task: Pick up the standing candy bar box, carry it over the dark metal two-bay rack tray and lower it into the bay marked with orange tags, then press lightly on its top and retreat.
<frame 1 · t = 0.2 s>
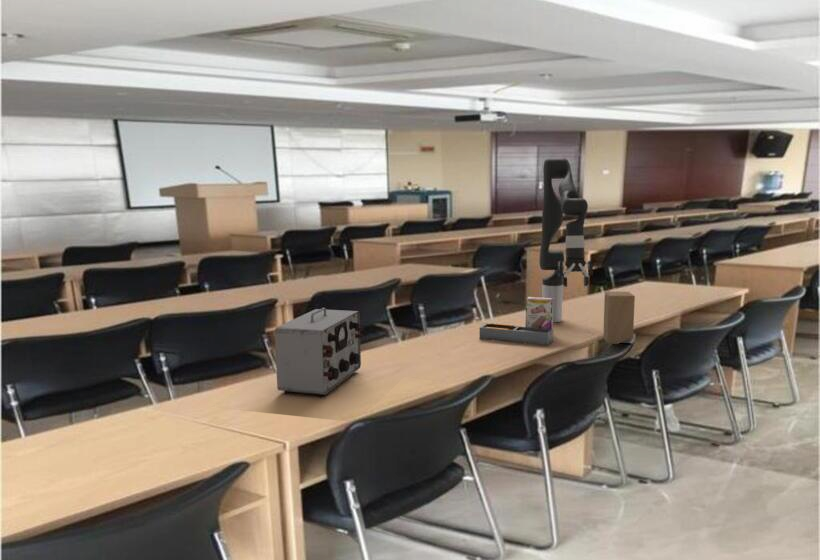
hand: (575, 286, 274), 22 cm above the table, tool pointing down, fingers open, 8 cm apart
wooden block: (617, 341, 274), on the table
candy bar box: (539, 336, 284), on the table
rack: (515, 340, 278), on the table
vintage electronic device: (324, 383, 225), on the table
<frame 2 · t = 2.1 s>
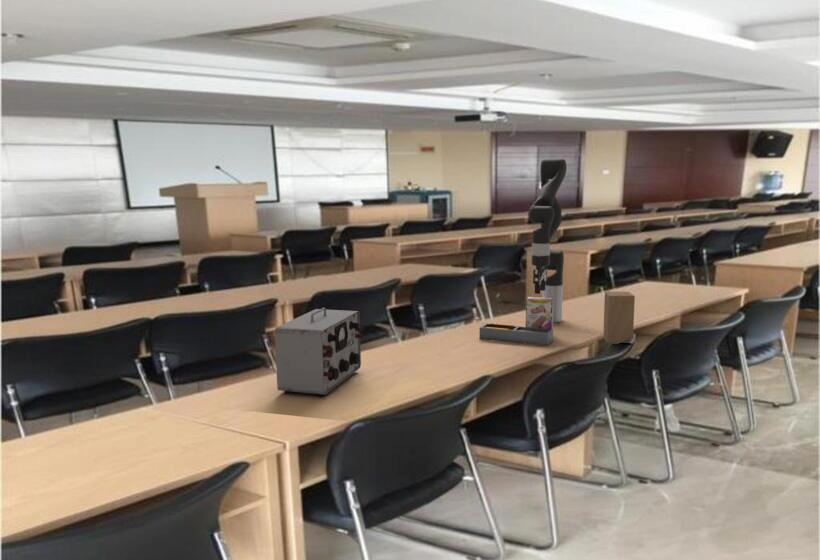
hand: (540, 292, 281), 19 cm above the table, tool pointing down, fingers open, 8 cm apart
nothing on the table moved.
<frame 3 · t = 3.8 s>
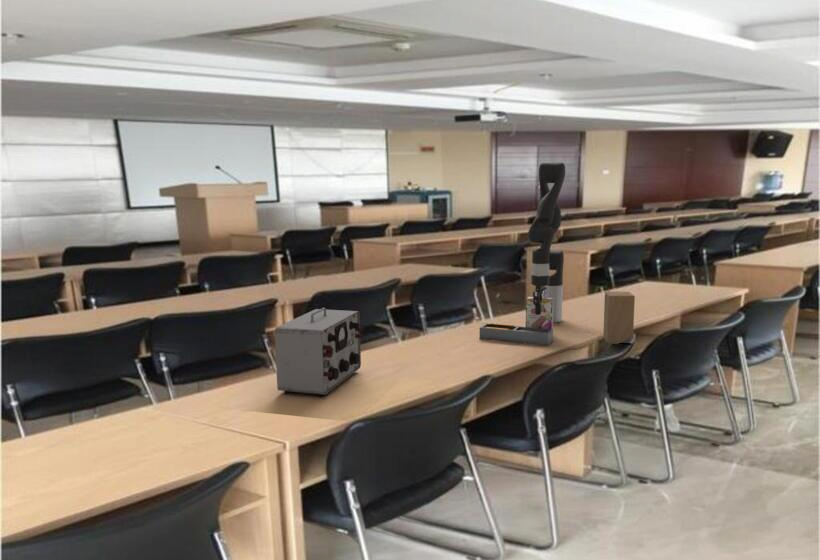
hand: (539, 312, 283), 10 cm above the table, tool pointing down, fingers closed on candy bar box, 5 cm apart
candy bar box: (539, 336, 284), on the table, touching gripper
everything else where it was.
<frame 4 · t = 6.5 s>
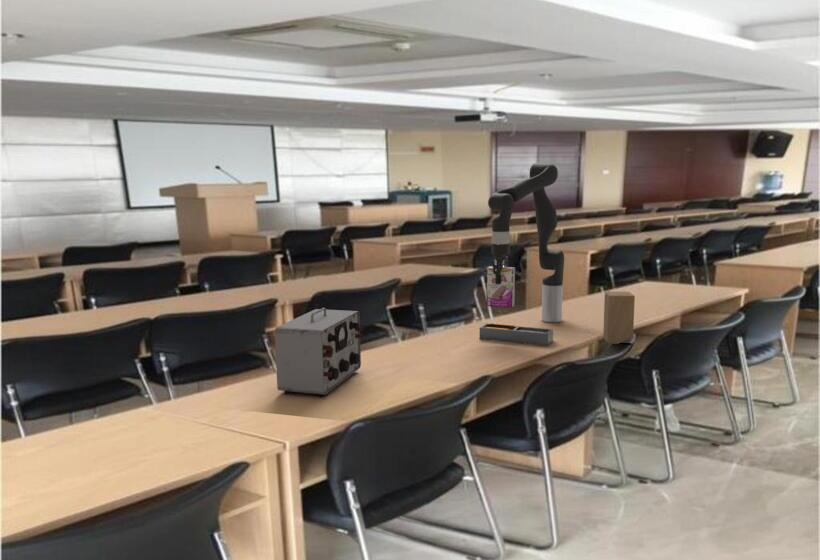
hand: (500, 282, 277), 24 cm above the table, tool pointing down, fingers closed on candy bar box, 5 cm apart
candy bar box: (500, 306, 278), point 14 cm above the table, touching gripper
everything else where it was.
when the fingers open (12 cm above the table, at t = 9.0 s): candy bar box drops 1 cm, resting on rack.
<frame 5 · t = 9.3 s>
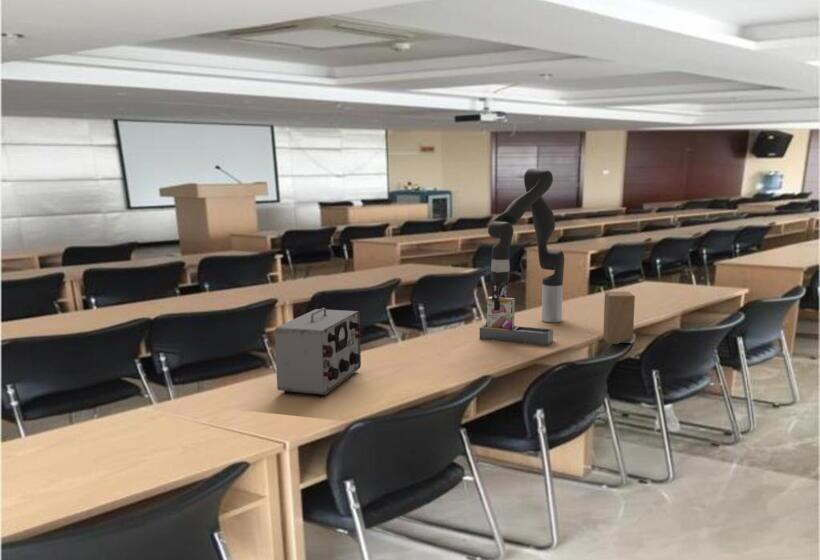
hand: (500, 308, 278), 13 cm above the table, tool pointing down, fingers open, 8 cm apart
candy bar box: (500, 336, 280), point 1 cm above the table, touching rack
everything else where it was.
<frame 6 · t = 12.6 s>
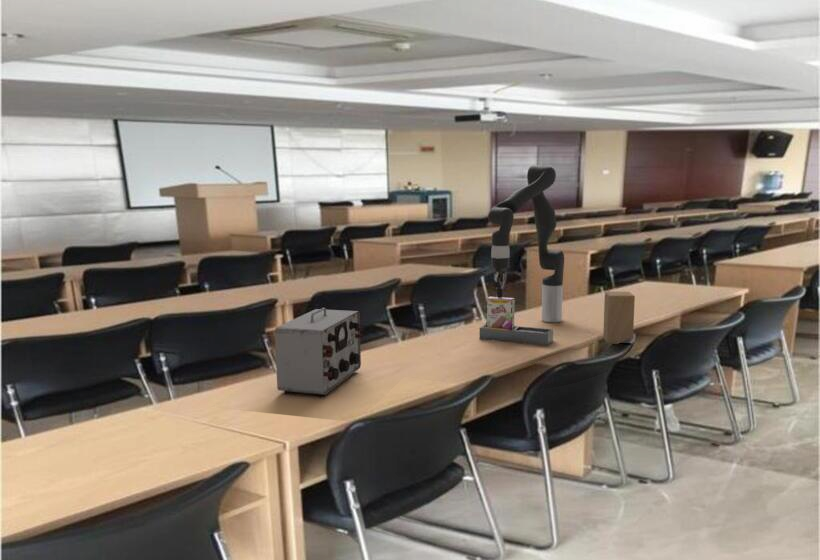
hand: (500, 297, 278), 18 cm above the table, tool pointing down, fingers closed
nothing on the table moved.
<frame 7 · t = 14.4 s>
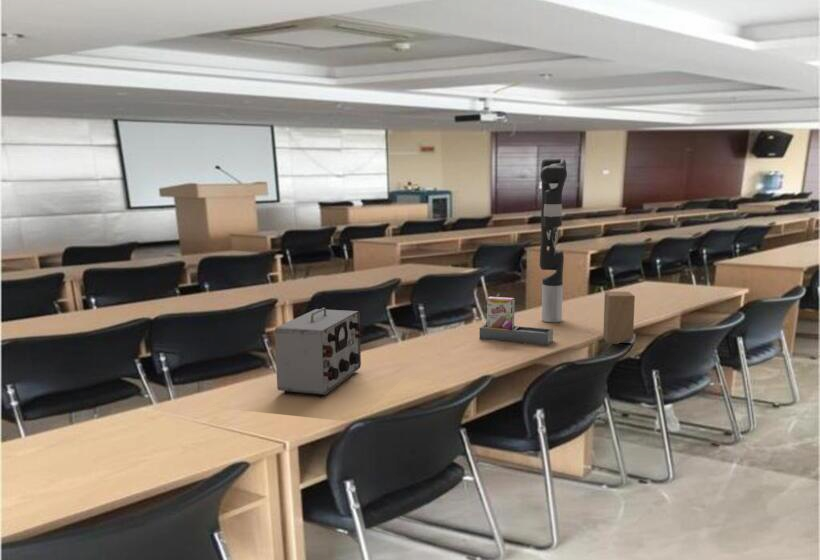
hand: (552, 256, 280), 34 cm above the table, tool pointing down, fingers closed
nothing on the table moved.
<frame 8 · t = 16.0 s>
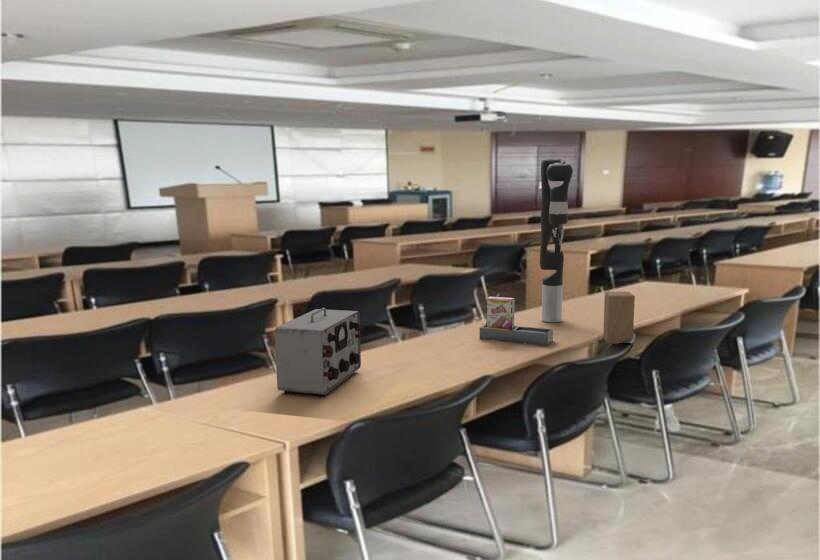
hand: (557, 253, 281), 35 cm above the table, tool pointing down, fingers closed
nothing on the table moved.
at the end: candy bar box inside the target area on the rack (0.1 cm from its centre), point 0.8 cm above the rack's base; candy bar box tilted 0°; the gripper is holding nothing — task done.
